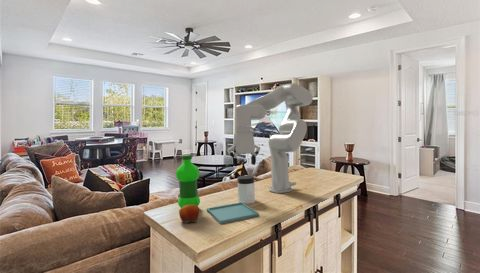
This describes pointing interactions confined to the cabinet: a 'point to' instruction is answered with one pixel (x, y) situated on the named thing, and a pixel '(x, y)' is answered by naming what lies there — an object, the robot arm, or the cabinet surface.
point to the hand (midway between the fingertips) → (244, 165)
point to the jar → (246, 189)
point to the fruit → (189, 213)
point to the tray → (232, 212)
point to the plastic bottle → (188, 182)
